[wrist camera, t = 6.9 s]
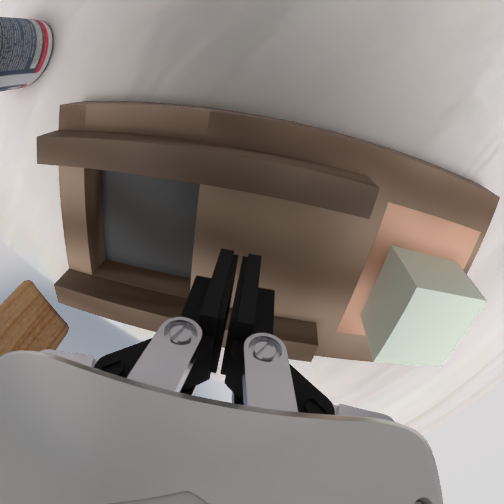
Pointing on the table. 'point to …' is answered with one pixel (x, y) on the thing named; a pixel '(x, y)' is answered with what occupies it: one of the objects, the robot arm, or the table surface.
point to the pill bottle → (23, 51)
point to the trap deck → (245, 215)
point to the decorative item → (29, 322)
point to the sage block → (419, 309)
